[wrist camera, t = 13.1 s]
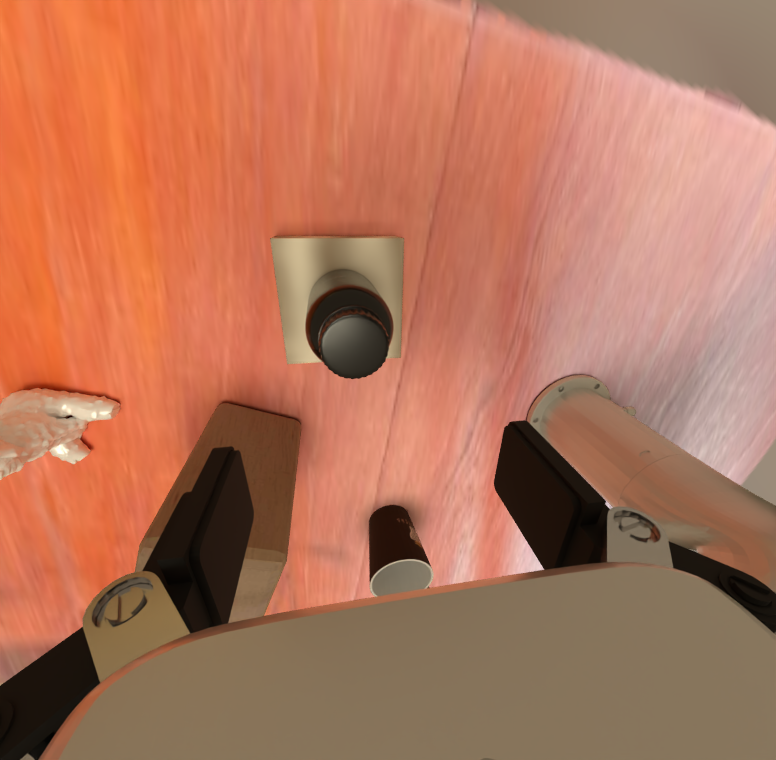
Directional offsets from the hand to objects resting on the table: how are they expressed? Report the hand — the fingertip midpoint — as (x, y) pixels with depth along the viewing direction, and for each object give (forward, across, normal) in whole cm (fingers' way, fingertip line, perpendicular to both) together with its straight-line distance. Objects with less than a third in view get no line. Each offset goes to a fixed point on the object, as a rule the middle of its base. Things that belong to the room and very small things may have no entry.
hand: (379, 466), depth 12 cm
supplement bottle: (+24, 0, 0) cm, 24 cm away
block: (+28, +12, +18) cm, 35 cm away
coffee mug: (+28, -6, +37) cm, 47 cm away
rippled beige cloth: (+28, 0, 0) cm, 28 cm away
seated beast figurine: (+28, +31, +12) cm, 44 cm away
